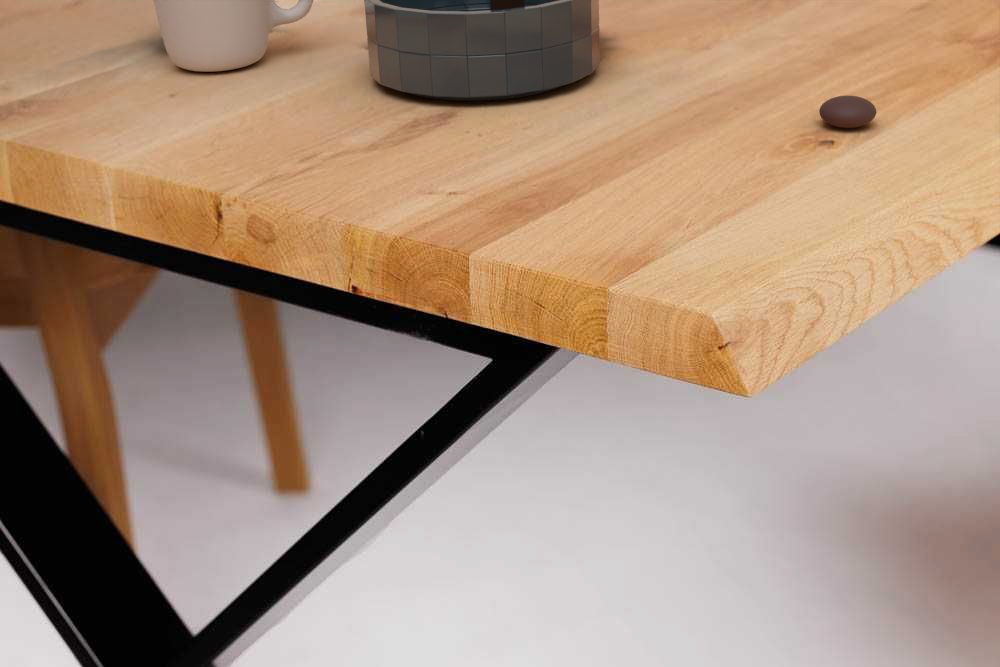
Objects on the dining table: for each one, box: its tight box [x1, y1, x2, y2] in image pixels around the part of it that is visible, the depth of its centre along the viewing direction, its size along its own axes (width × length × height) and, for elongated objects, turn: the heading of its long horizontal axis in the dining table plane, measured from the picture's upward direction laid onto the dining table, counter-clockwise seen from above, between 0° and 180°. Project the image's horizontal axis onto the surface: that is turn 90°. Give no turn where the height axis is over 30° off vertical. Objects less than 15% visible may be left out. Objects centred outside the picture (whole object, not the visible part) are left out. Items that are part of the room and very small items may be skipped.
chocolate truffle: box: [818, 95, 877, 129], centre depth 78 cm, size 3×3×2 cm
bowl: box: [363, 0, 601, 102], centre depth 89 cm, size 14×14×6 cm
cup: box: [153, 0, 314, 73], centre depth 95 cm, size 11×8×8 cm
